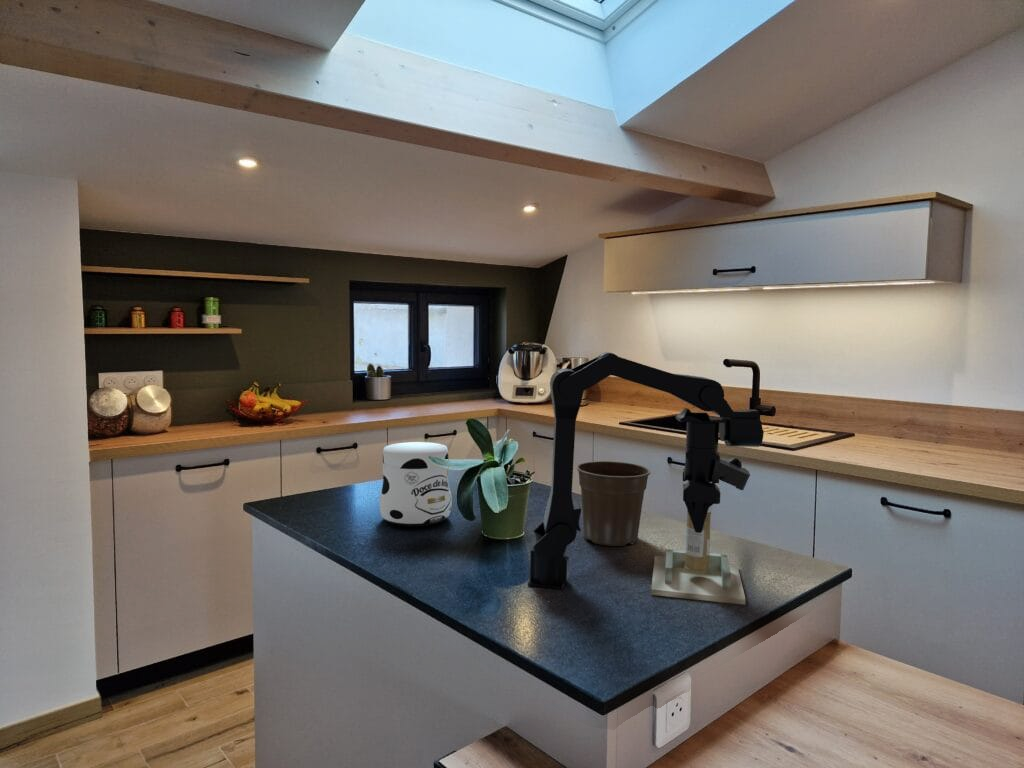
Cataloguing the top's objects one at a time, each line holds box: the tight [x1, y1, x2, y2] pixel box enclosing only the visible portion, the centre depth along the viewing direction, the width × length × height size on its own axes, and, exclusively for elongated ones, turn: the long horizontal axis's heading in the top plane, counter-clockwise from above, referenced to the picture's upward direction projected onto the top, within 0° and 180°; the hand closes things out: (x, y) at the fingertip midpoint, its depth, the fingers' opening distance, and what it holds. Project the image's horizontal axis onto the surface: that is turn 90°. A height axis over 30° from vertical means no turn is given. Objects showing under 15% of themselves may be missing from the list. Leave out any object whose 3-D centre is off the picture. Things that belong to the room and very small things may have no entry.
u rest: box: [650, 548, 746, 606], centre depth 128 cm, size 16×18×4 cm
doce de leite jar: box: [378, 441, 453, 528], centre depth 163 cm, size 17×17×18 cm
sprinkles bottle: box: [684, 505, 713, 574], centre depth 126 cm, size 5×5×13 cm
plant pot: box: [576, 460, 651, 547], centre depth 152 cm, size 16×16×16 cm
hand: (698, 528), depth 126 cm, fingers closed on sprinkles bottle, 4 cm apart
